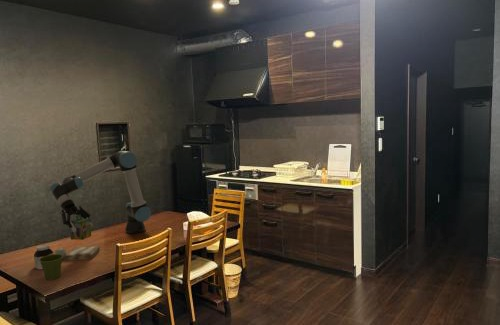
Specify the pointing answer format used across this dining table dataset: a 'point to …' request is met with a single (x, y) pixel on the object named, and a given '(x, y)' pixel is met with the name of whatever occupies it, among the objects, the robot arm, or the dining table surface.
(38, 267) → the spread jar
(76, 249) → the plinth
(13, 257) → the dining table surface
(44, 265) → the plant pot
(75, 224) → the chalk box
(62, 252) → the grey rounded cylinder
